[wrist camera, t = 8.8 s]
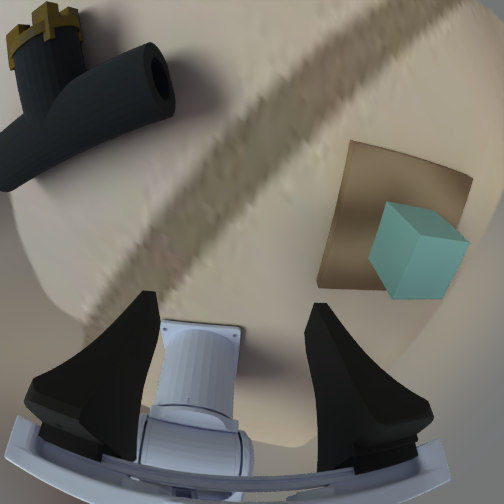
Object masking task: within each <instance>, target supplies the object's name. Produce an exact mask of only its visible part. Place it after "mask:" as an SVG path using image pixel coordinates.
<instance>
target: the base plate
mask: <svg viewBox="0 0 504 504" xmlns="http://www.w3.org/2000/svg"><path fill="white" fill-rule="evenodd" d="M472 181H473V178H471V177H470V176H468V175H466V174H464V173H461V172H458V171H456V170H453V169H450V168H447V167H445V166H442V165H439V164H436V163H433V162H430V161H427V160H424V159H420V158H417V157H414V156H410V155H407V154H404V153H400V152H396V151H393V150H389V149H385V148H381V147H377V146H373V145H369V144H365V143H360V142H356V141H351V140H350V144H349V149H348V154H347V159H346V164H345V169H344V174H343V178H342V183H341V187H340V192H339V196H338V201H337V205H336V209H335V213H334V217H333V221H332V225H331V229H330V233H329V237H328V241H327V245H326V248H325V252H324V256H323V259H322V263H321V267H320V270H319V274H318V277H317V280H316V281H317V284H318V287H319V288H328V289H355V290H386V288H385V286H384V284H383V282H382V281H381V279H380V277H379V276H378V274H377V272H376V270H375V269H374V267H373V265H372V264H371V262H370V260H369V259H368V257H369V255H370V252H371V249H372V246H373V243H374V240H375V237H376V234H377V231H378V228H379V225H380V222H381V218H382V215H383V212H384V208H385V205H386V202H393V203H398V204H404V205H409V206H414V207H419V208H424V209H428V210H433V211H435V212H437V213H438V214H439V215H440V216H441V217H442V218H444V219H445V220H446V221H447V222H448V223H449V224H450V225H451V226H453V227H454V228H455V229H456V228H457V225H458V223H459V220H460V217H461V214H462V212H463V209H464V206H465V203H466V200H467V197H468V194H469V191H470V188H471V184H472Z"/></svg>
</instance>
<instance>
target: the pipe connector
mask: <svg viewBox="0 0 504 504" xmlns="http://www.w3.org/2000/svg"><path fill="white" fill-rule="evenodd" d="M32 24H33V26H31V27H30V25H22V24H18V25H17V26H16V27H15V28H13V29H12V30H11V31H10V32H9V33H8V34H7V35H6V41H7V51H8V60H9V67H10V71H11V70H15V75H16V81H17V86H18V91H19V96H20V100H21V105H22V109H23V114H22V115H21V116H20V117H18V118H17V119H16V120H15V121H14V122H12V123H11V124H10V125H9V126H8V127H7V128H5V129H4V130H3V131H2V132H1V133H0V191H2V192H10V191H13V190H14V189H16V188H18V187H19V186H21V185H22V184H24V183H26V182H27V181H29V180H31V179H32V178H34V177H36V176H37V175H39V174H41V173H42V172H44V171H46V170H48V169H50V168H51V167H53V166H55V165H57V164H59V163H61V162H63V161H65V160H67V159H69V158H71V157H73V156H75V155H77V154H79V153H81V152H83V151H85V150H87V149H89V148H91V147H94V146H96V145H98V144H100V143H103V142H105V141H107V140H110V139H112V138H114V137H117V136H119V135H122V134H124V133H127V132H129V131H132V130H135V129H137V128H140V127H143V126H146V125H148V124H151V123H154V122H157V121H160V120H163V119H166V118H169V117H172V116H173V114H174V112H175V94H174V90H173V87H172V83H171V79H170V75H169V71H168V67H167V64H166V61H165V59H164V57H163V55H162V53H161V52H160V50H159V49H158V47H157V46H156V45H155V44H153V43H151V42H149V43H146V44H144V45H141V46H139V47H136V48H134V49H132V50H129V51H127V52H125V53H123V54H120V55H118V56H116V57H114V58H112V59H110V60H108V61H106V62H104V63H102V64H100V65H98V66H96V67H94V68H92V69H90V70H89V71H87V72H86V69H85V65H84V60H83V56H82V51H81V46H80V43H81V42H83V38H82V33H81V27H80V21H79V14H78V9H75V8H72V7H67V8H65V9H64V10H62V11H61V12H59V10H58V4H56V3H52V2H48V1H46V2H45V3H44V4H42V5H41V6H40V7H38V8H37V9H36V10H35V11H33V12H32Z"/></svg>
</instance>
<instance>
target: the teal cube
mask: <svg viewBox="0 0 504 504" xmlns="http://www.w3.org/2000/svg"><path fill="white" fill-rule="evenodd" d="M469 243H470V242H469V241H467V240H466V239H465V238H464V237H463V236H462V235H461V234H460V233H459V232H458V231H457V230H456V229H455V228H454V227H453V226H451V225H450V224H449V223H448V222H447V221H446V220H445V219H444V218H442V217H441V216H440V215H439V214H438V213H437V212H435V211H433V210H428V209H424V208H419V207H414V206H409V205H404V204H398V203H393V202H386V205H385V208H384V212H383V215H382V218H381V222H380V225H379V228H378V231H377V234H376V237H375V240H374V243H373V246H372V249H371V252H370V255H369V257H368V259H369V260H370V262H371V264H372V265H373V267H374V269H375V270H376V272H377V274H378V276H379V277H380V279H381V281H382V282H383V284H384V286H385V288H386V290H387V291H388V293H389V295H390V297H391V299H442V297H443V296H444V294H445V292H446V290H447V288H448V286H449V285H450V283H451V281H452V279H453V277H454V275H455V273H456V271H457V269H458V267H459V265H460V263H461V261H462V259H463V256H464V254H465V252H466V250H467V248H468V245H469Z"/></svg>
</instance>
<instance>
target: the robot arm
mask: <svg viewBox="0 0 504 504" xmlns="http://www.w3.org/2000/svg"><path fill="white" fill-rule="evenodd" d="M160 328H161V333H162V338H163V342H164V347H165V357H164V361H163V365H162V370H161V374H160V379H159V383H158V388H157V392H156V397H155V402H154V405H151V409H150V414H149V415H148V414H146V413H141V414H140V407H141V400H142V394H143V388H144V384H145V380H146V376H147V373H148V370H149V367H150V363H151V360H152V357H153V354H154V351H155V347H156V344H157V341H158V336H159V330H160ZM235 334H237V335H235ZM304 334H305V346H306V354H307V359H308V363H309V368H310V373H311V377H312V382H313V387H314V392H315V398H316V410H317V426H318V461H317V473H308V474H298V475H285V476H257V477H256V476H254V477H253V476H252V474H253V467H254V449H253V444H252V441H251V439H250V438H249V437H248V435H247V434H246V432H245V431H242V430H238V420H233V400H234V379H235V378H236V374H237V365H238V356H239V346H240V337H241V329H240V328H239V327H235V326H221V325H208V324H197V323H187V322H177V321H168V320H162V321H161V320H160V315H159V309H158V303H157V297H156V292H153V291H144V290H143V291H142V292H141V293H140V294H139V295H138V296H137V297H136V299H135V300H134V301H133V302H132V303H131V304H130V305H129V306H128V307H127V309H126V310H125V311H124V312H123V313H122V314H121V315H120V316H119V317H118V318H117V319H116V320H115V321H114V322H113V323H112V324H111V325H110V326H109V327H108V328H107V329H106V330H105V331H104V332H103V333H102V334H101V335H100V336H99V337H98V338H97V339H96V340H94V341H93V342H92V343H91V344H90V345H88V346H87V347H86V348H85V349H83V350H82V351H80V352H79V353H78V354H76V355H75V356H74V357H72V358H71V359H69V360H68V361H66V362H64V363H63V364H61V365H59V366H57V367H56V368H54V369H52V370H50V371H48V372H46V373H44V374H42V375H39V376H37V377H35V378H34V379H33V380H32V383H31V385H30V387H29V389H28V392H27V394H26V396H25V399H24V404H25V406H26V407H27V408H28V409H29V410H30V411H31V412H32V413H33V414H34V415H35V416H36V417H37V418H39V419H40V420H41V421H42V425H41V427H40V426H39V425H37V424H35V423H33V422H32V421H30V420H28V419H26V418H24V417H22V416H20V415H18V416H17V418H16V421H15V424H14V427H13V430H12V432H11V435H10V439H9V442H8V445H7V448H6V452H5V455H4V456H5V458H6V459H8V460H9V461H11V462H12V463H14V464H15V465H17V466H18V467H20V468H22V469H24V470H25V471H27V472H28V473H30V474H32V475H33V476H35V477H37V478H38V479H40V480H42V481H44V482H46V483H48V484H50V485H51V486H53V487H55V488H57V489H59V490H61V491H63V492H65V493H67V494H70V495H72V496H74V497H76V498H78V499H81V500H83V501H85V502H88V503H90V504H400V503H402V502H405V501H407V500H410V499H412V498H414V497H417V496H419V495H421V494H423V493H425V492H428V491H430V490H432V489H434V488H436V487H438V486H440V485H442V484H444V483H446V482H448V481H450V480H451V475H450V471H449V468H448V464H447V460H446V457H445V453H444V450H443V447H442V443H441V440H440V439H439V438H438V439H435V440H433V441H430V442H427V443H425V444H422V445H420V446H418V447H416V445H415V442H417V441H418V437H417V433H419V432H420V431H421V430H423V429H424V428H425V427H427V426H428V425H429V424H430V423H431V422H432V421H433V419H434V415H433V413H432V410H431V407H430V404H429V402H428V401H427V400H426V399H424V398H422V397H420V396H418V395H417V394H415V393H413V392H412V391H410V390H409V389H407V388H405V387H404V386H403V385H401V384H400V383H399V382H397V381H396V380H395V379H393V378H392V377H391V376H390V375H388V374H387V373H386V372H385V371H384V370H383V369H381V368H380V367H379V366H378V365H377V364H376V363H375V362H374V361H373V360H372V359H371V358H370V357H369V356H368V355H367V354H366V353H365V352H364V351H363V349H362V348H361V347H360V346H359V345H358V344H357V343H356V341H355V340H354V339H353V338H352V336H351V335H350V334H349V333H348V331H347V330H346V329H345V327H344V326H343V325H342V323H341V322H340V321H339V319H338V318H337V317H336V315H335V314H334V312H333V311H332V310H331V308H330V307H329V306H328V304H327V303H314V305H313V308H312V311H311V314H310V317H309V320H308V323H307V326H306V329H305V332H304ZM318 487H323V488H319V489H313V490H307V491H301V492H297V493H296V495H293V496H289V497H287V498H286V499H287V501H279V502H243V499H244V495H245V492H276V491H290V490H302V489H310V488H318Z"/></svg>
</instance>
